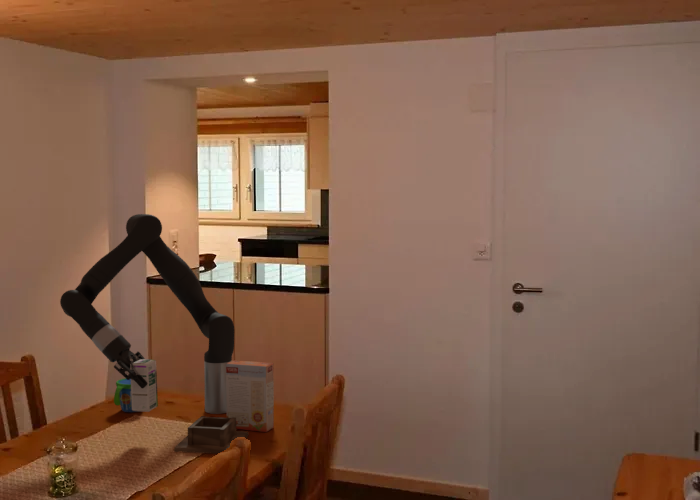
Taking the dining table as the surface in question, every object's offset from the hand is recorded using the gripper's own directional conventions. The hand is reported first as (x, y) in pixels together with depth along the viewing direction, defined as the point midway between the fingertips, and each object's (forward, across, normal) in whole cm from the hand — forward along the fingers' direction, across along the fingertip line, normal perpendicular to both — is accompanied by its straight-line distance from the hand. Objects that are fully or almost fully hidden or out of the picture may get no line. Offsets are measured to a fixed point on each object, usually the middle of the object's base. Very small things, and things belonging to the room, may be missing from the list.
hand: (149, 383), depth 223 cm
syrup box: (+4, 0, +7) cm, 8 cm away
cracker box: (+31, +16, -6) cm, 35 cm away
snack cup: (-1, +29, +26) cm, 39 cm away
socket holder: (+26, 0, -2) cm, 26 cm away
